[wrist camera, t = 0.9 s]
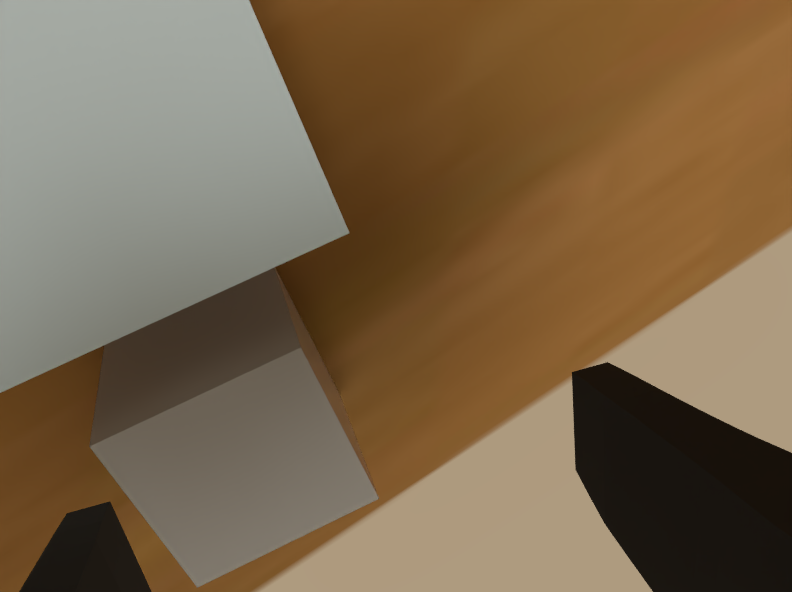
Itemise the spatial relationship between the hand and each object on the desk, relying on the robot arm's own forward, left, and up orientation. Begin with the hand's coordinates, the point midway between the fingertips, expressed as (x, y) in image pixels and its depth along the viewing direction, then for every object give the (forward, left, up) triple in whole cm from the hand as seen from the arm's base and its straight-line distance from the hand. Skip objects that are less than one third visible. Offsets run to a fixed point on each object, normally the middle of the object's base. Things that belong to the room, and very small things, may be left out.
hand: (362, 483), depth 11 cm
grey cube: (-3, -3, -11) cm, 11 cm away
